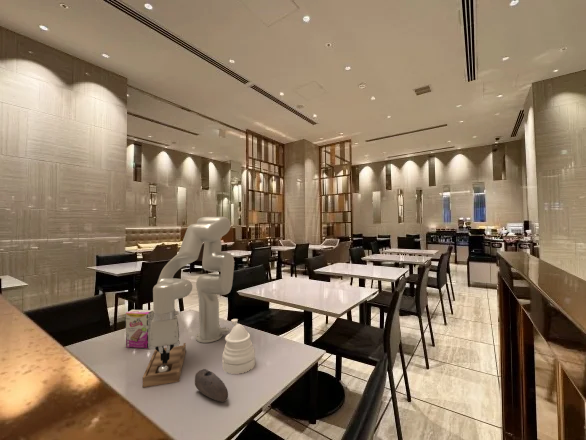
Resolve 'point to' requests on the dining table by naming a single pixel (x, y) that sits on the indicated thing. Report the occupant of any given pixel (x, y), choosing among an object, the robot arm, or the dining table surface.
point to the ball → (163, 369)
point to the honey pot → (238, 350)
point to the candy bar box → (138, 328)
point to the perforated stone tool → (211, 385)
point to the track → (173, 364)
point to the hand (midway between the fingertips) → (165, 361)
